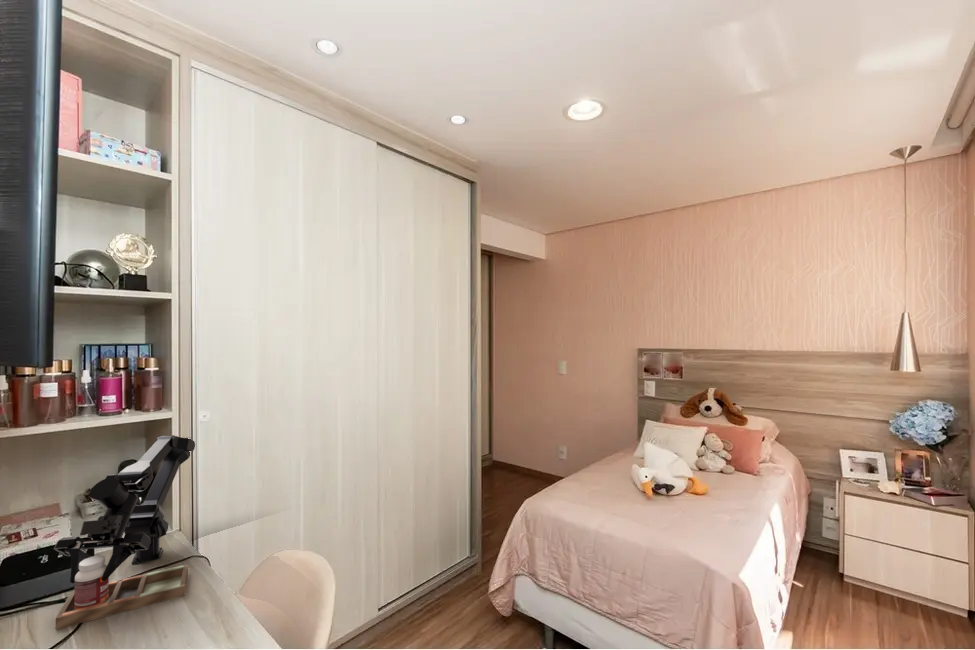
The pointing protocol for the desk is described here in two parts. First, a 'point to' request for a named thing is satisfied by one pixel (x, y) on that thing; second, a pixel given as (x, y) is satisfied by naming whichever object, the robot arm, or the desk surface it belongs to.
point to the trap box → (129, 595)
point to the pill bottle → (91, 583)
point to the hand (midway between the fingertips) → (87, 581)
